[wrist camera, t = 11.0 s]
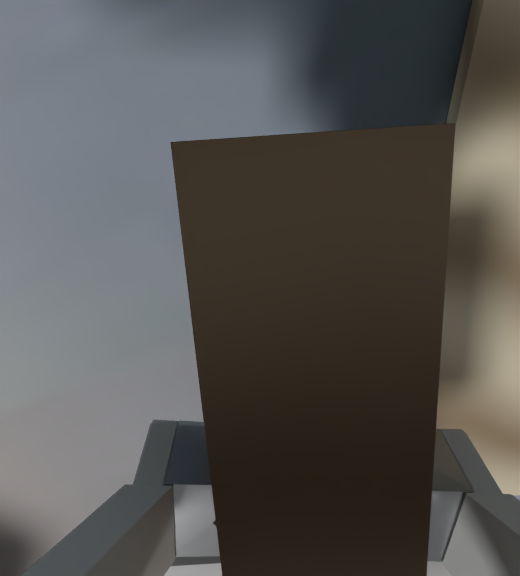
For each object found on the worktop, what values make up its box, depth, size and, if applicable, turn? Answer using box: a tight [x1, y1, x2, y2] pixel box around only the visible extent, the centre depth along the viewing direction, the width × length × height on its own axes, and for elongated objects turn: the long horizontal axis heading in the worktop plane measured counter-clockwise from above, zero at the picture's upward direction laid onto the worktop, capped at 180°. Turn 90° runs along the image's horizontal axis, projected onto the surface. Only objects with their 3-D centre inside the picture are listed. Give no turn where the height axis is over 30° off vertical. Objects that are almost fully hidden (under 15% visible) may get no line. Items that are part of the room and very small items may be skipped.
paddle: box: [164, 123, 456, 576], centre depth 9 cm, size 17×8×4 cm, turn 4°
